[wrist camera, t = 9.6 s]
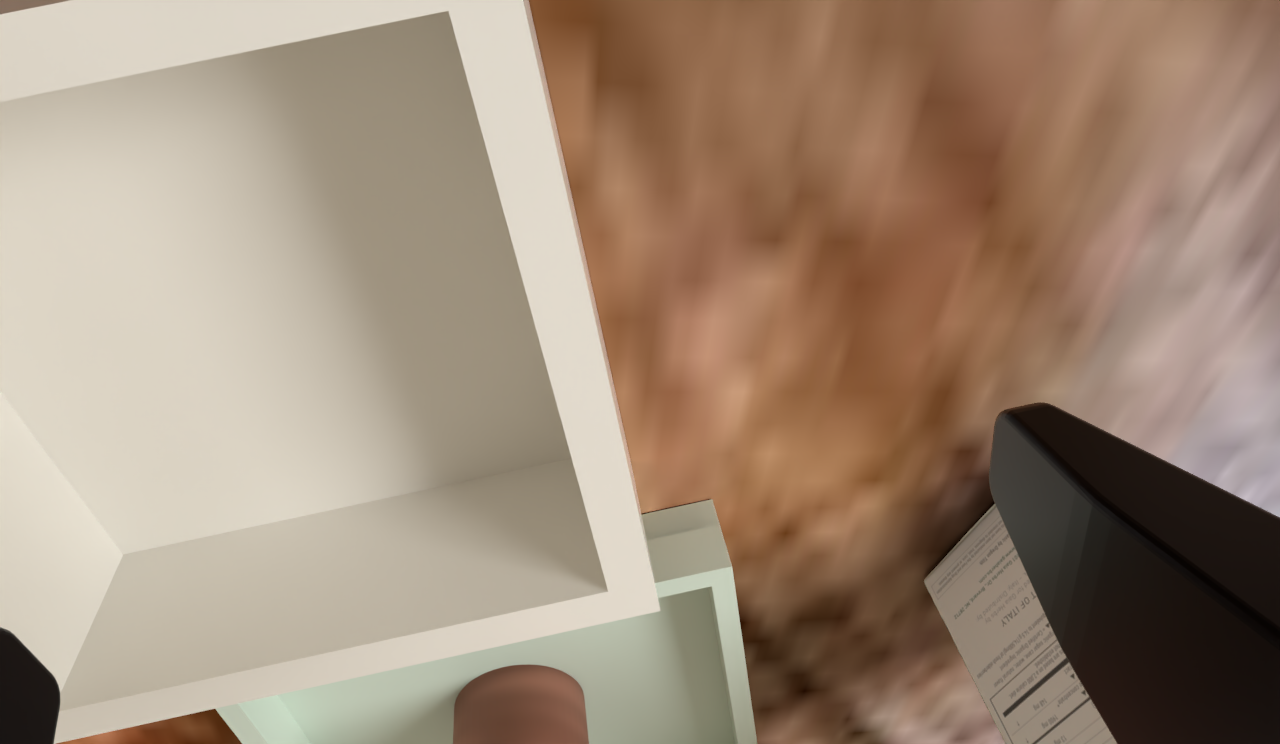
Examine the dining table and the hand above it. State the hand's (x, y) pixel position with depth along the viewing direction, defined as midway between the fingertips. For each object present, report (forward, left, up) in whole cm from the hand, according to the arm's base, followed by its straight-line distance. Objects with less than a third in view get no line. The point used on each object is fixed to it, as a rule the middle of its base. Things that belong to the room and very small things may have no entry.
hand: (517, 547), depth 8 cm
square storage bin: (+6, +3, -12) cm, 14 cm away
